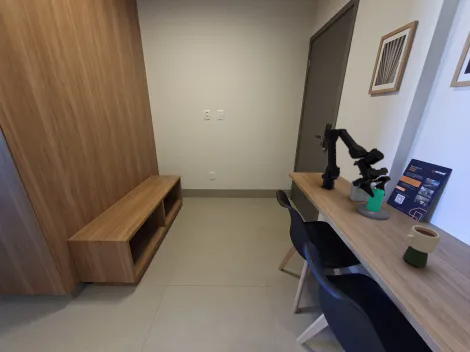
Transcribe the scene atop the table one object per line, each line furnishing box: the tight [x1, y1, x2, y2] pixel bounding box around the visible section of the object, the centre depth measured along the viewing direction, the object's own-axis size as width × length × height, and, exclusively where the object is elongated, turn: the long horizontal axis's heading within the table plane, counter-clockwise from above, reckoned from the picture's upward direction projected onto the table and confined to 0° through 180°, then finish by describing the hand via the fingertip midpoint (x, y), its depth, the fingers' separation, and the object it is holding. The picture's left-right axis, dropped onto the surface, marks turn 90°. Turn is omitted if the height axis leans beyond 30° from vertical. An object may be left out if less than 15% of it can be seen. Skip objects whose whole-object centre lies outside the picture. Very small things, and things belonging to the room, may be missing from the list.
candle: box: [366, 188, 386, 212], centre depth 103 cm, size 6×6×12 cm
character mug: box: [402, 225, 441, 268], centre depth 70 cm, size 11×7×13 cm, turn 88°
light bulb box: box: [348, 180, 376, 203], centre depth 119 cm, size 11×7×11 cm, turn 84°
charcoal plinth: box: [356, 202, 390, 221], centre depth 105 cm, size 14×14×2 cm
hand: (378, 196), depth 101 cm, fingers open, 6 cm apart
